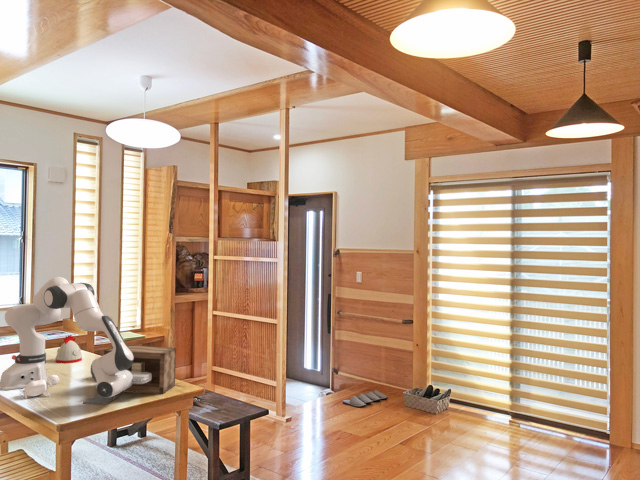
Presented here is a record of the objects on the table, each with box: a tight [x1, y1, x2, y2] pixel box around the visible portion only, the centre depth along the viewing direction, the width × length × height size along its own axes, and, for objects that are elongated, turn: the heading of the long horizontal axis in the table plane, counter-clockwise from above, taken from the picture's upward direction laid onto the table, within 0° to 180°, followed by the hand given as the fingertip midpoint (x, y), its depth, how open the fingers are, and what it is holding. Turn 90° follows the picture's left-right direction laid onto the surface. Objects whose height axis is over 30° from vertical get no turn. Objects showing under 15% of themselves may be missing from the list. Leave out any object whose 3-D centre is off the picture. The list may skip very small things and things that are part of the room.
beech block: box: [132, 361, 145, 384], centre depth 248 cm, size 4×4×10 cm
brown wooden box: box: [103, 344, 177, 395], centre depth 250 cm, size 14×30×19 cm, turn 84°
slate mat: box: [82, 395, 117, 406], centre depth 229 cm, size 10×10×1 cm
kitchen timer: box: [55, 334, 83, 364], centre depth 303 cm, size 14×14×15 cm
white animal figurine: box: [22, 374, 60, 400], centre depth 235 cm, size 9×8×15 cm
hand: (136, 372), depth 247 cm, fingers open, 8 cm apart
